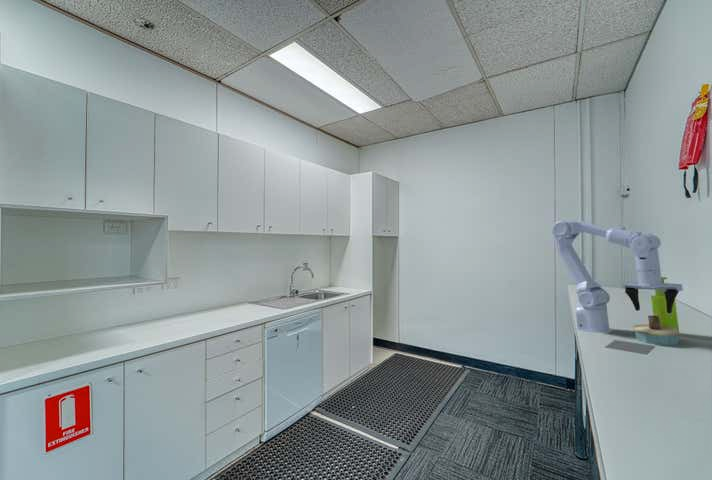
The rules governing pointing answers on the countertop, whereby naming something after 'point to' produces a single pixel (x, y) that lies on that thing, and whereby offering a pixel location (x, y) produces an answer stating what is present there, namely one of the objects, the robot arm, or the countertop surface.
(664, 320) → the soap dispenser
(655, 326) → the lid
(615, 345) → the mat
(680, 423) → the countertop surface
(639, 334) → the bowl
